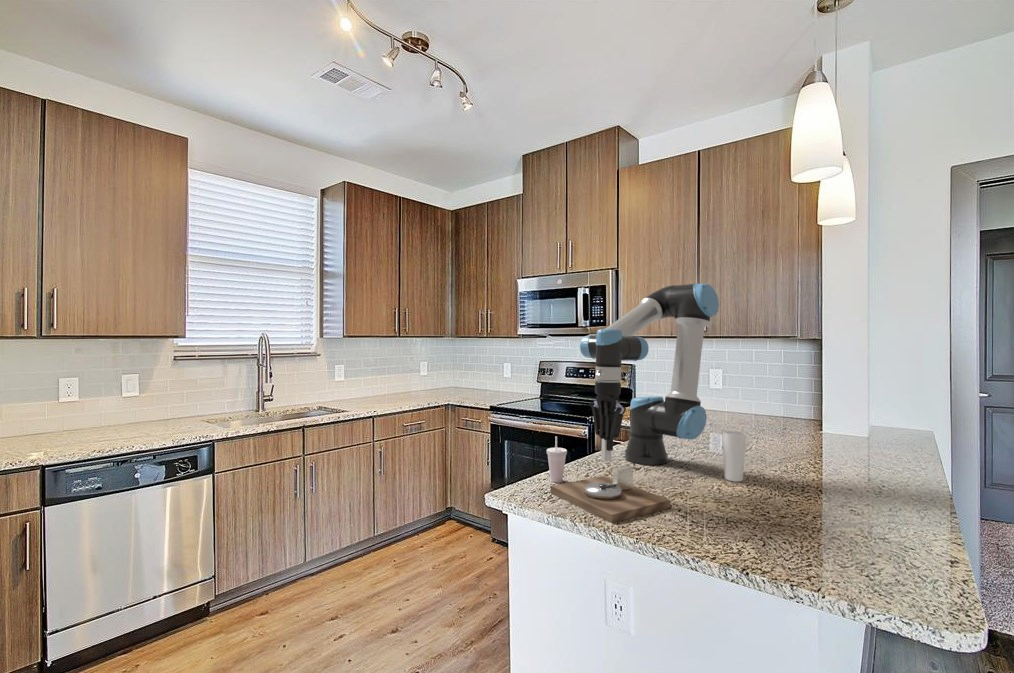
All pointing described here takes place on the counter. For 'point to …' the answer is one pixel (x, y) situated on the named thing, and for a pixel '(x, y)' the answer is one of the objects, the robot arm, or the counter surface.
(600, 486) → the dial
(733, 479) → the drinking glass
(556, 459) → the smoothie
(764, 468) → the counter surface
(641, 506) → the panel
